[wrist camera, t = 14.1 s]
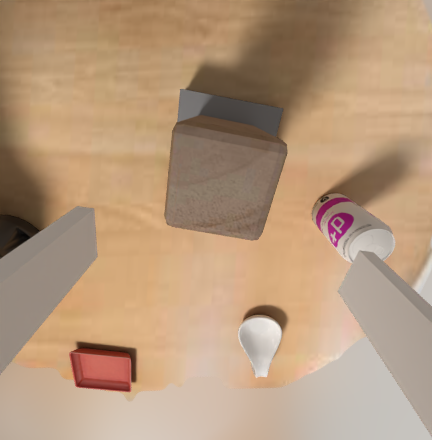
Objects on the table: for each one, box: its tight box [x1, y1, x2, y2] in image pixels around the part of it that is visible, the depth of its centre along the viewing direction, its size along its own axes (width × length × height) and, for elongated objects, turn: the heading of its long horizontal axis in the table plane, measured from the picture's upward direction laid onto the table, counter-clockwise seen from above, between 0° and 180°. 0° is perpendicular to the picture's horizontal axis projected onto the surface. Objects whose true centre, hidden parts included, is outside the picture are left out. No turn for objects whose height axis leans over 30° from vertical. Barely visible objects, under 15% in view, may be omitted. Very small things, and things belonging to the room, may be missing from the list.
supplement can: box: [312, 193, 395, 263], centre depth 42 cm, size 8×8×15 cm
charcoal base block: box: [177, 89, 283, 137], centre depth 41 cm, size 16×16×6 cm
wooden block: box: [164, 115, 287, 240], centre depth 29 cm, size 10×10×20 cm
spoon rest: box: [238, 315, 282, 377], centre depth 64 cm, size 24×12×7 cm, turn 6°
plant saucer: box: [69, 348, 131, 392], centre depth 73 cm, size 18×18×3 cm
